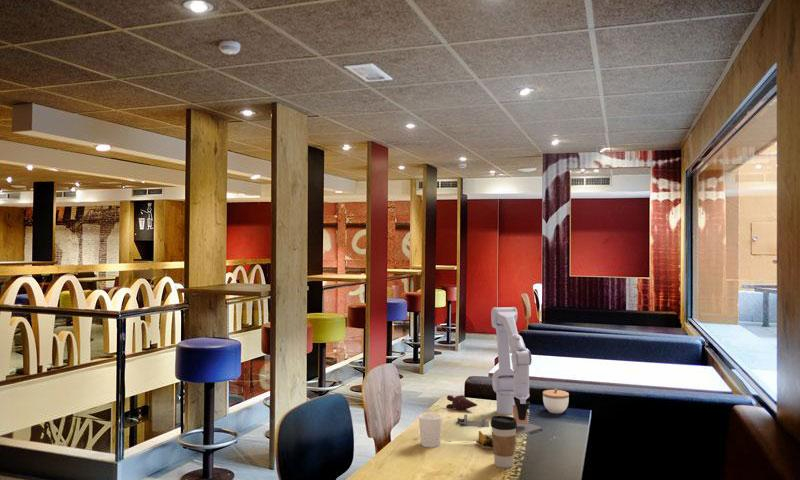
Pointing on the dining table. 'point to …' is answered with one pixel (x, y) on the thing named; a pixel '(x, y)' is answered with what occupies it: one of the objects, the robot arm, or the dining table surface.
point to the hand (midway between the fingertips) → (521, 418)
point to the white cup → (430, 429)
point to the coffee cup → (503, 440)
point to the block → (515, 415)
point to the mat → (528, 428)
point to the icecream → (460, 403)
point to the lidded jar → (555, 400)
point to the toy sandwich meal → (485, 441)
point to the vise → (473, 422)
